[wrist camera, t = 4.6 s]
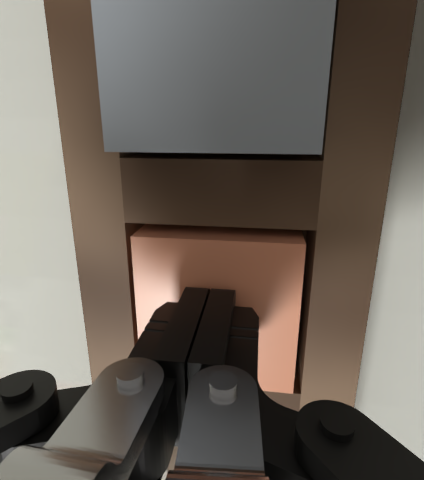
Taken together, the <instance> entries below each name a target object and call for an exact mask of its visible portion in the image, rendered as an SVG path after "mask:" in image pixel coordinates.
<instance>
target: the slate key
mask: <svg viewBox="0 0 424 480" xmlns="http://www.w3.org/2000/svg"><path fill="white" fill-rule="evenodd" d="M91 10H92V21H93V32H94V43H95V53H96V64H97V75H98V86H99V97H100V108H101V119H102V130H103V141H104V152H158V153H239V154H320V155H322V147H323V136H324V126H325V115H326V105H327V94H328V84H329V73H330V63H331V52H332V41H333V31H334V20H335V10H336V0H91Z"/></svg>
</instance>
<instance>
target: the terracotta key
mask: <svg viewBox="0 0 424 480" xmlns="http://www.w3.org/2000/svg"><path fill="white" fill-rule="evenodd" d="M130 237H131V251H132V264H133V278H134V291H135V304H136V318H137V331H138V339H139V337H140V336H141V334H142V332H143V331H144V329H145V327H146V325H147V323H148V322H149V320H150V318H151V317H152V315H153V313H154V311H155V310H156V309H157V308H159V307H160V306H162V305H163V304H165V303H166V302H178V301H179V299H180V297H181V295H182V293H183V291H184V289H185V287H196V288H210V290H211V288H214V289H230V290H236V304H235V306H239V307H252V308H253V309H254V311H255V312H256V314H257V315H258V316H259V339H258V382H259V385H260V387H261V389H262V390H263V391H269V392H279V393H289V394H293V389H294V378H295V367H296V355H297V344H298V333H299V321H300V310H301V299H302V287H303V276H304V265H305V253H306V242H305V239H304V236H303V233H302V230H291V229H266V228H241V227H217V226H192V225H167V224H145V225H144V226H142V227H141V228H140V229H139V230H138V231H136V232H135V233H134V234H133V235H132V236H130Z"/></svg>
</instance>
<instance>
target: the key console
mask: <svg viewBox="0 0 424 480" xmlns="http://www.w3.org/2000/svg"><path fill="white" fill-rule="evenodd" d="M416 6H417V0H336V10H335V20H334V31H333V41H332V52H331V63H330V73H329V84H328V94H327V105H326V115H325V126H324V136H323V147H322V155H320V154H239V153H158V152H104V141H103V130H102V119H101V108H100V97H99V86H98V75H97V64H96V53H95V43H94V32H93V21H92V10H91V0H44V8H45V15H46V23H47V31H48V39H49V47H50V55H51V63H52V71H53V78H54V86H55V94H56V102H57V110H58V118H59V126H60V133H61V141H62V149H63V157H64V165H65V173H66V181H67V189H68V196H69V204H70V212H71V220H72V228H73V236H74V244H75V251H76V259H77V267H78V275H79V283H80V291H81V299H82V306H83V314H84V322H85V330H86V338H87V346H88V354H89V362H90V369H91V377H92V383H93V382H94V381H95V379H96V378H97V377H98V376H99V374H100V373H101V372H102V371H103V370H104V369H105V368H106V367H107V366H109V365H111V364H112V363H114V362H116V361H119V360H122V359H126V358H128V356H129V355H130V353H131V351H132V349H133V348H134V346H135V344H136V342H137V341H138V331H137V318H136V304H135V291H134V278H133V264H132V251H131V237H130V236H132V235H133V234H134V233H135V232H136V231H138V230H139V229H140V228H141V227H142V226H144V225H145V224H167V225H192V226H217V227H241V228H266V229H291V230H302V233H303V236H304V239H305V242H306V253H305V265H304V276H303V287H302V299H301V310H300V321H299V333H298V344H297V355H296V367H295V378H294V389H293V394H289V393H279V392H269V391H263V392H264V393H265V394H266V395H267V396H268V397H269V398H270V399H272V400H273V401H275V402H276V403H278V404H280V405H282V406H285V407H287V408H290V409H293V410H295V411H298V412H299V410H300V409H301V408H302V407H303V406H304V405H306V404H307V403H310V402H312V401H317V400H333V401H338V402H342V403H345V404H347V405H349V406H352V407H353V408H354V403H355V397H356V390H357V384H358V378H359V371H360V365H361V358H362V352H363V345H364V339H365V333H366V326H367V320H368V313H369V307H370V301H371V294H372V288H373V281H374V275H375V269H376V262H377V256H378V249H379V243H380V237H381V230H382V224H383V217H384V211H385V205H386V198H387V192H388V185H389V179H390V173H391V166H392V160H393V153H394V147H395V141H396V134H397V128H398V121H399V115H400V109H401V102H402V96H403V89H404V83H405V77H406V70H407V64H408V57H409V51H410V45H411V38H412V32H413V25H414V19H415V13H416Z"/></svg>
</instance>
